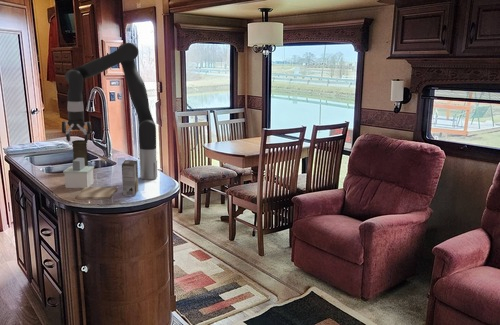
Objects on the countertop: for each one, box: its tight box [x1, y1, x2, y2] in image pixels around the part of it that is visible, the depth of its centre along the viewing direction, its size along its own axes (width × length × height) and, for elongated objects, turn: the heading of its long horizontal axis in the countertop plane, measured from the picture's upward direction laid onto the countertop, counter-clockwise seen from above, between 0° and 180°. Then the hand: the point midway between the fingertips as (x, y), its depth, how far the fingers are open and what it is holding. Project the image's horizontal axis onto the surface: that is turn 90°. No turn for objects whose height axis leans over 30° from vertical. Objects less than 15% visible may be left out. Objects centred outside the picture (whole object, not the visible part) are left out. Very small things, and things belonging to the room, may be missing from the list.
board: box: [74, 186, 118, 200], centre depth 208 cm, size 16×16×1 cm
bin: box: [64, 169, 95, 189], centre depth 221 cm, size 11×11×8 cm
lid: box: [62, 158, 95, 174], centre depth 220 cm, size 12×12×8 cm
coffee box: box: [121, 159, 139, 197], centre depth 210 cm, size 9×6×16 cm
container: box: [71, 139, 89, 166], centre depth 250 cm, size 9×9×18 cm
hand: (77, 141), depth 217 cm, fingers open, 8 cm apart
